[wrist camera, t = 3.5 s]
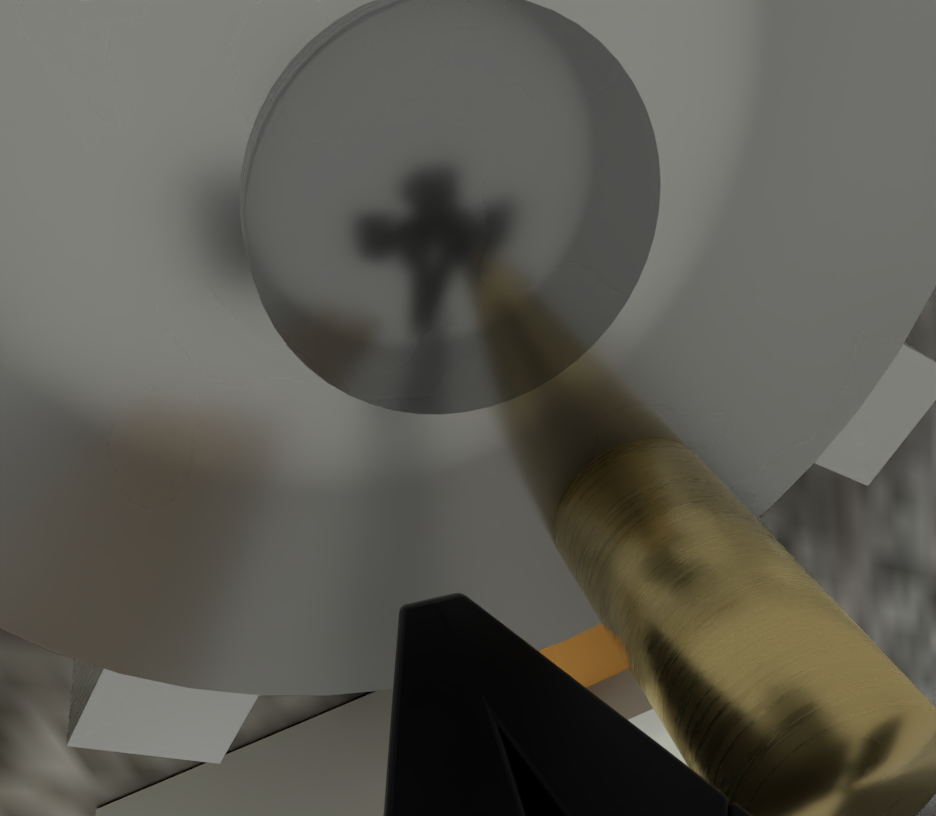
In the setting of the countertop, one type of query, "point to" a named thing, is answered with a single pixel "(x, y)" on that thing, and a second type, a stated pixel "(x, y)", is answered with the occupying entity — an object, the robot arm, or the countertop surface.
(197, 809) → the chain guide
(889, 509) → the countertop surface
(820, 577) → the countertop surface
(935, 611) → the countertop surface
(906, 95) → the sprocket
